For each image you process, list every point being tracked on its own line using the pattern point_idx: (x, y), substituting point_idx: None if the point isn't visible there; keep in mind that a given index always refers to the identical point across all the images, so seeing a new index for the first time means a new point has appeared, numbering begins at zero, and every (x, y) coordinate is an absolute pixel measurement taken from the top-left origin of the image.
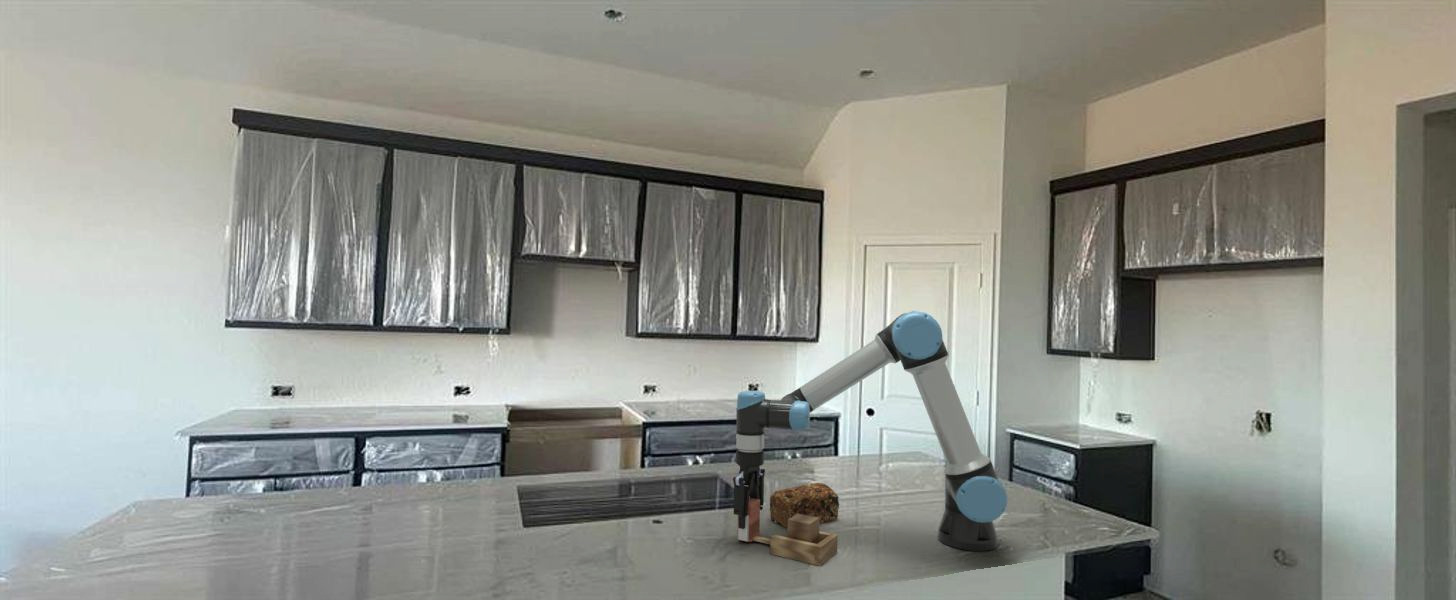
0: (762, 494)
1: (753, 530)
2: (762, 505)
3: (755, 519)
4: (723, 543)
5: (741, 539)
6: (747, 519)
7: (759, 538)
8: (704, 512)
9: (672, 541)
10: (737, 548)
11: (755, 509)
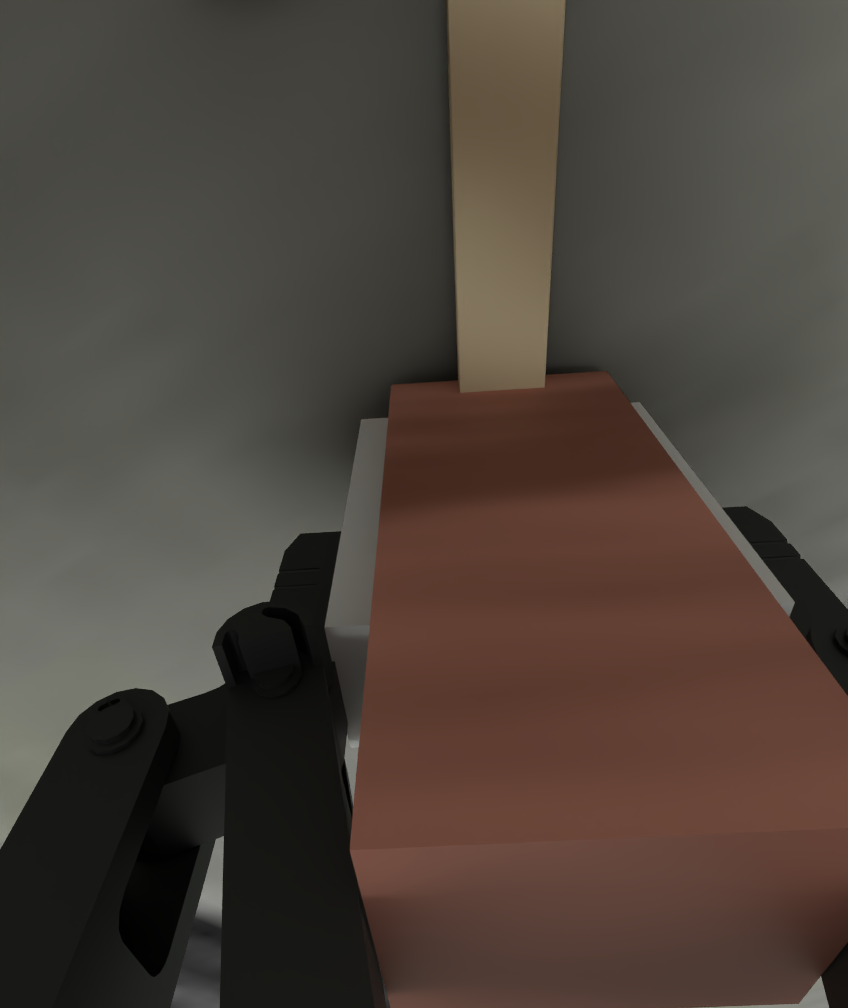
0: (8, 984)
1: (566, 428)
2: (138, 690)
3: (538, 511)
4: None
5: None
6: (763, 564)
7: (523, 316)
8: (206, 895)
9: None
10: (775, 406)
11: (588, 646)
